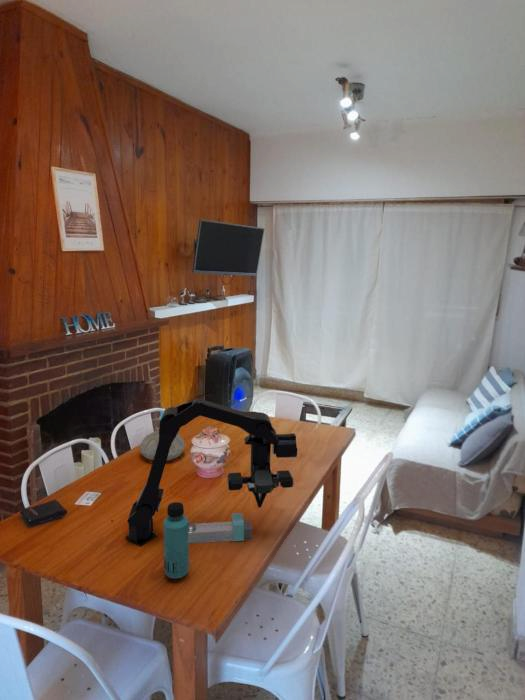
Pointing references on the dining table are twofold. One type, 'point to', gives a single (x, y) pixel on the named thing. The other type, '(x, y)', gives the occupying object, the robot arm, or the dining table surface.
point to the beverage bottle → (176, 542)
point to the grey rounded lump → (151, 444)
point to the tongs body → (214, 533)
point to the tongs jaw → (218, 524)
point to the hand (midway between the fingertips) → (259, 506)
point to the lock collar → (238, 527)
